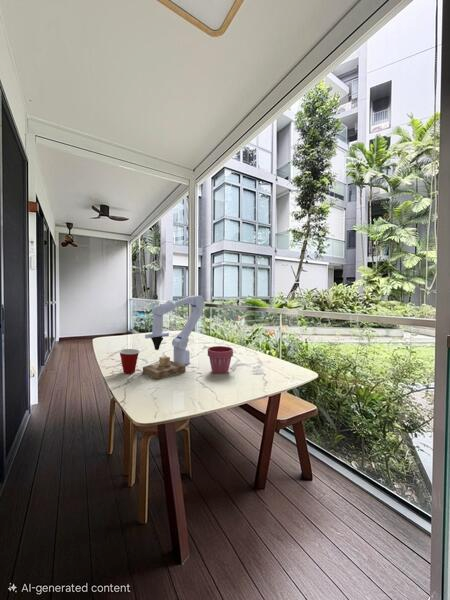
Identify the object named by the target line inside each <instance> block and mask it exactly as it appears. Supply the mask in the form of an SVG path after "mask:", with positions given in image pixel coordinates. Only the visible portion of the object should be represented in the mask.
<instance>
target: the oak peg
mask: <svg viewBox="0 0 450 600" xmlns="http://www.w3.org/2000/svg"><path fill="white" fill-rule="evenodd" d="M170 361H171V357H170V356H167V355H163V356H160V357H159V363H158V364H159V367H161V368H166V367H170Z"/></svg>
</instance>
